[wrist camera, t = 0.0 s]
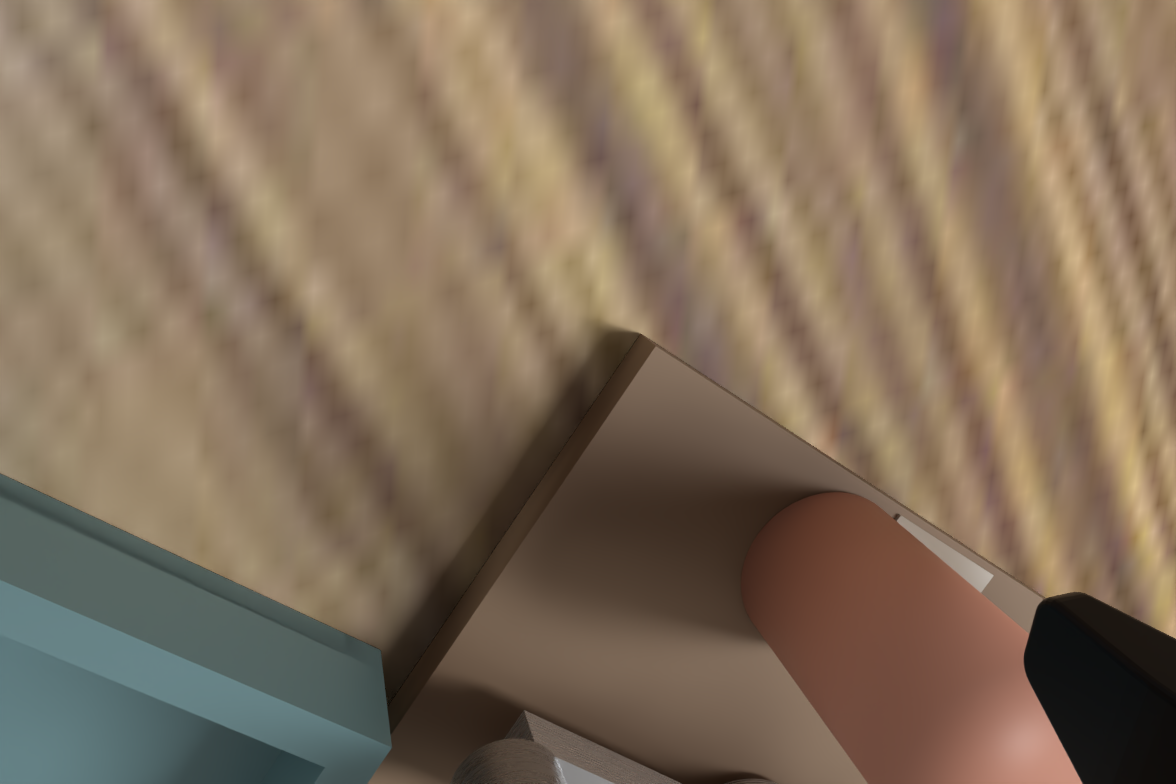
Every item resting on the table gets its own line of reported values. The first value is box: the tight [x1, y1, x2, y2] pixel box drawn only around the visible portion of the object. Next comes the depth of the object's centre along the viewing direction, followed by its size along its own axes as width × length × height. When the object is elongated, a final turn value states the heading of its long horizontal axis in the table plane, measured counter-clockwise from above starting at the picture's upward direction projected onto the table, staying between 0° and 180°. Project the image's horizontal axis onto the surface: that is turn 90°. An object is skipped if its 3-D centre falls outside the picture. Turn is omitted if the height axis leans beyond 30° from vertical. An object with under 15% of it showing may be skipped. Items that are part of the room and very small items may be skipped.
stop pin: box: [741, 492, 1082, 784], centre depth 23 cm, size 4×4×8 cm
